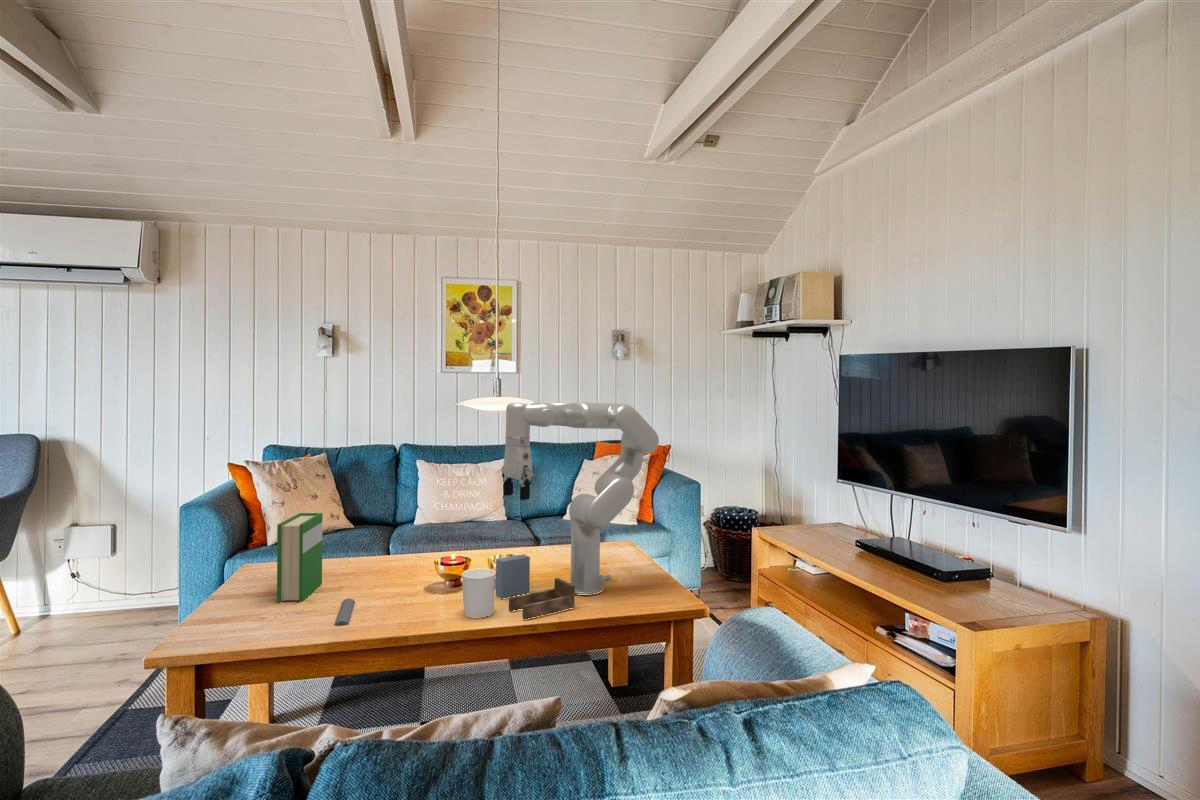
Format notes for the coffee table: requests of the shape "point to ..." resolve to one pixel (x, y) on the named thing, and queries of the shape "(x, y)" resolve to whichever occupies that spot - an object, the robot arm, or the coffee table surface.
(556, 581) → the book rack
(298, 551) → the hardback book
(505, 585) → the slate-blue book
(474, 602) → the grey cylinder
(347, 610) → the gray half cylinder
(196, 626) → the coffee table surface
